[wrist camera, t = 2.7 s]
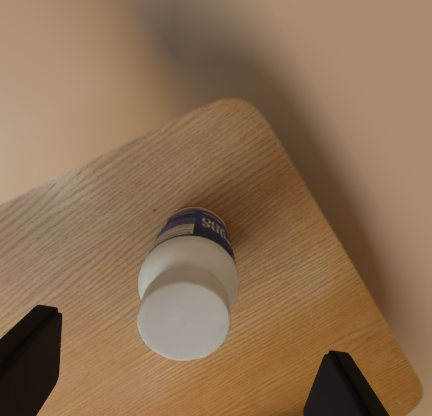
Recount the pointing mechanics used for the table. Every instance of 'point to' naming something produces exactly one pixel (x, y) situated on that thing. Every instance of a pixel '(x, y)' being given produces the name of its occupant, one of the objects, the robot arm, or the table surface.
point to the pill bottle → (188, 286)
